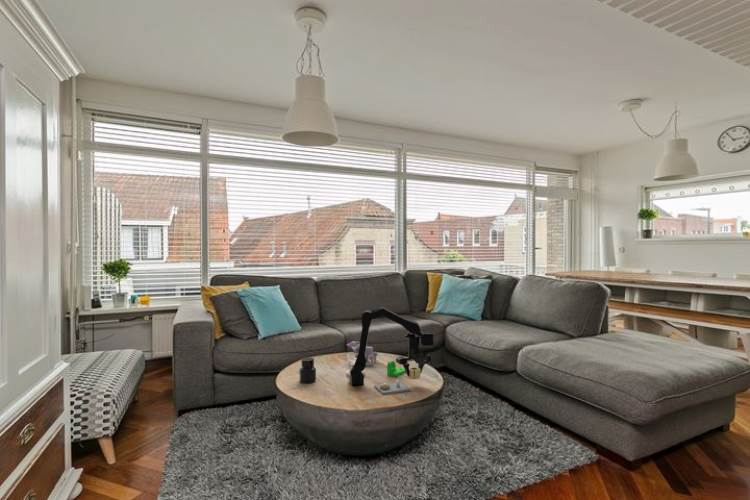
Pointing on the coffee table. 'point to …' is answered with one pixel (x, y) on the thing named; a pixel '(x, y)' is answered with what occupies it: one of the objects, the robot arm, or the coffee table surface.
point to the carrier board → (392, 388)
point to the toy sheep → (369, 351)
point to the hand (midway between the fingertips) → (413, 375)
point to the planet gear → (414, 373)
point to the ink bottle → (307, 370)
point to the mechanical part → (394, 369)
